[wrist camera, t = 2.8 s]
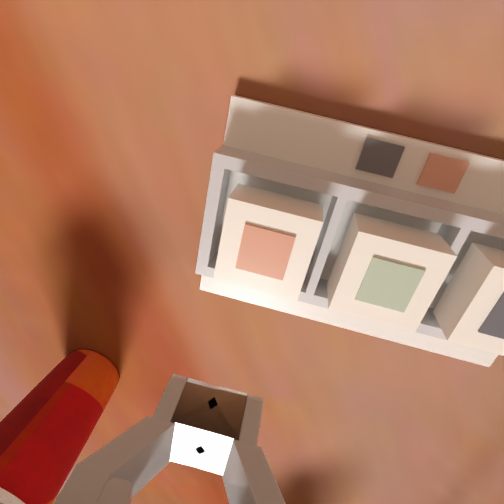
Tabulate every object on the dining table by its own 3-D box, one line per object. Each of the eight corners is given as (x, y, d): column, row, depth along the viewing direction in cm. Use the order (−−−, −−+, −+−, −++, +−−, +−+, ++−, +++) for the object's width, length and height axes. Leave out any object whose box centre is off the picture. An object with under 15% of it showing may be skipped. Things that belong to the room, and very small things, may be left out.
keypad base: (607, 184, 22) (655, 203, 19) (483, 358, 29) (503, 392, 26) (234, 94, 23) (222, 98, 20) (202, 283, 30) (190, 307, 27)
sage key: (440, 234, 22) (458, 257, 19) (404, 304, 25) (415, 333, 22) (353, 212, 22) (358, 232, 19) (327, 283, 25) (328, 310, 22)
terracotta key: (322, 204, 22) (323, 223, 19) (299, 276, 25) (297, 302, 22) (238, 183, 23) (227, 198, 20) (223, 256, 25) (212, 279, 22)
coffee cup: (58, 386, 39) (-72, 544, 26) (53, 331, 36) (-102, 483, 22) (129, 407, 39) (34, 577, 26) (132, 353, 35) (22, 521, 22)
